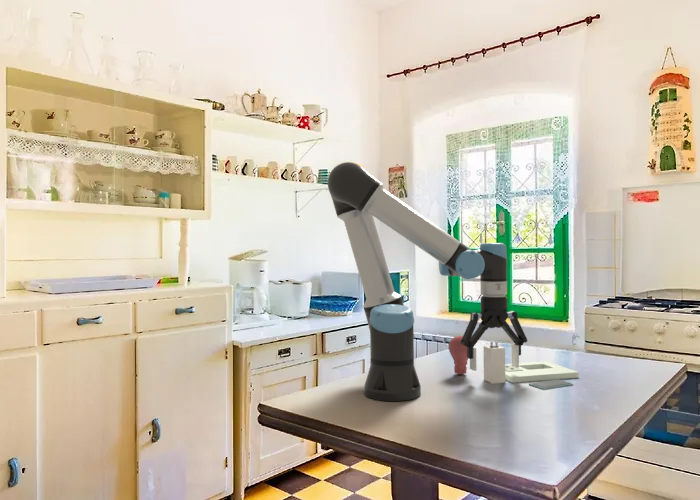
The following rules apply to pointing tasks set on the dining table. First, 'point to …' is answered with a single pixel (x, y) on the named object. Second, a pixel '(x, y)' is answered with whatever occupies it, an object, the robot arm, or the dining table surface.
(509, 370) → the outlet plate
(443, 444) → the dining table surface
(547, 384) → the phone
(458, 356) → the light bulb
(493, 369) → the charger
